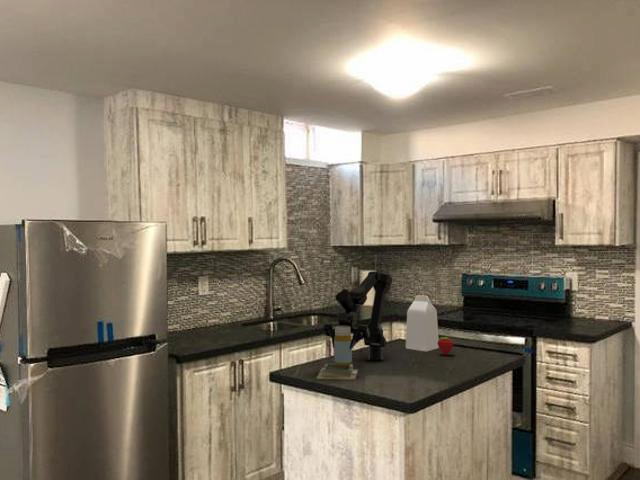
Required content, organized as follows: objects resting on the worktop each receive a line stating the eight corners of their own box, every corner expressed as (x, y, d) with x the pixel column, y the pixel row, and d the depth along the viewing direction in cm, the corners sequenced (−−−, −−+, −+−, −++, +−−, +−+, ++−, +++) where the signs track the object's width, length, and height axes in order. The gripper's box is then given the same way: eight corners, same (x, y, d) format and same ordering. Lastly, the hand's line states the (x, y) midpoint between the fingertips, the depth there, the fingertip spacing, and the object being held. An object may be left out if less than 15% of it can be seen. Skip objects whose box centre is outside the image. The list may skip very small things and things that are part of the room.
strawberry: (450, 357, 261) (450, 335, 261) (435, 355, 265) (435, 334, 265) (455, 355, 266) (455, 333, 266) (440, 353, 270) (440, 332, 270)
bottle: (354, 362, 230) (354, 325, 230) (347, 366, 224) (347, 328, 224) (338, 361, 233) (338, 324, 233) (331, 365, 227) (331, 327, 227)
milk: (405, 348, 282) (405, 295, 282) (418, 344, 291) (418, 293, 291) (426, 351, 274) (426, 297, 274) (439, 347, 283) (438, 295, 282)
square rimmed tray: (321, 369, 238) (321, 362, 238) (357, 370, 236) (357, 363, 236) (316, 379, 224) (316, 371, 224) (354, 380, 222) (354, 372, 222)
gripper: (323, 303, 235) (314, 335, 225) (367, 305, 229) (360, 338, 219) (330, 319, 243) (321, 351, 233) (372, 321, 236) (366, 354, 226)
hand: (341, 348), depth 227 cm, fingers closed on bottle, 7 cm apart
